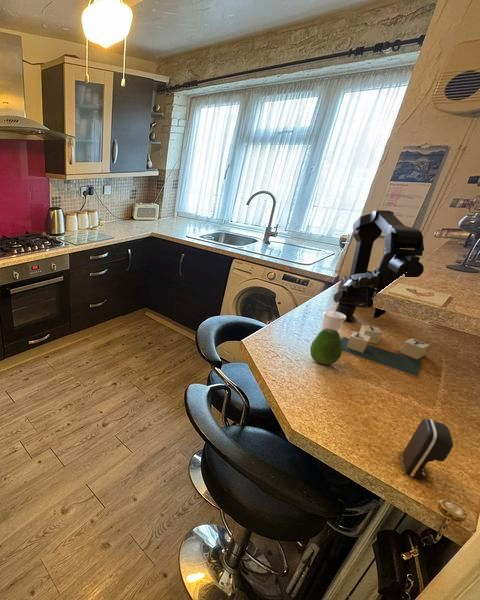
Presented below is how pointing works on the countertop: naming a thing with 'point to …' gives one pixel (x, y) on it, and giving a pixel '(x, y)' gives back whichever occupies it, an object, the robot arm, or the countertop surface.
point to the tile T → (414, 348)
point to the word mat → (385, 358)
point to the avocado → (326, 347)
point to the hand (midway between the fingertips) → (371, 312)
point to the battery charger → (426, 447)
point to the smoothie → (333, 319)
